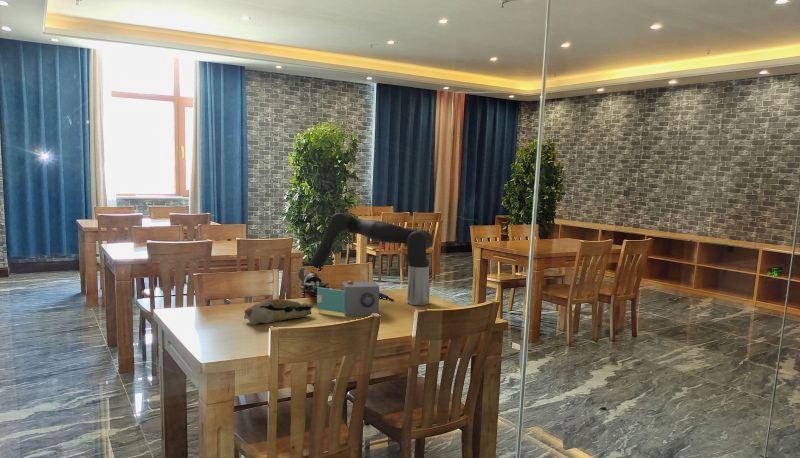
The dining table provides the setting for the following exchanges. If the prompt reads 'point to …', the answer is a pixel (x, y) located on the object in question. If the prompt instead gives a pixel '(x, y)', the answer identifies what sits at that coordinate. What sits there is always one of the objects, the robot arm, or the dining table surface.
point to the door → (331, 300)
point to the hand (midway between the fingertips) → (317, 290)
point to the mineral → (276, 311)
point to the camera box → (361, 298)
